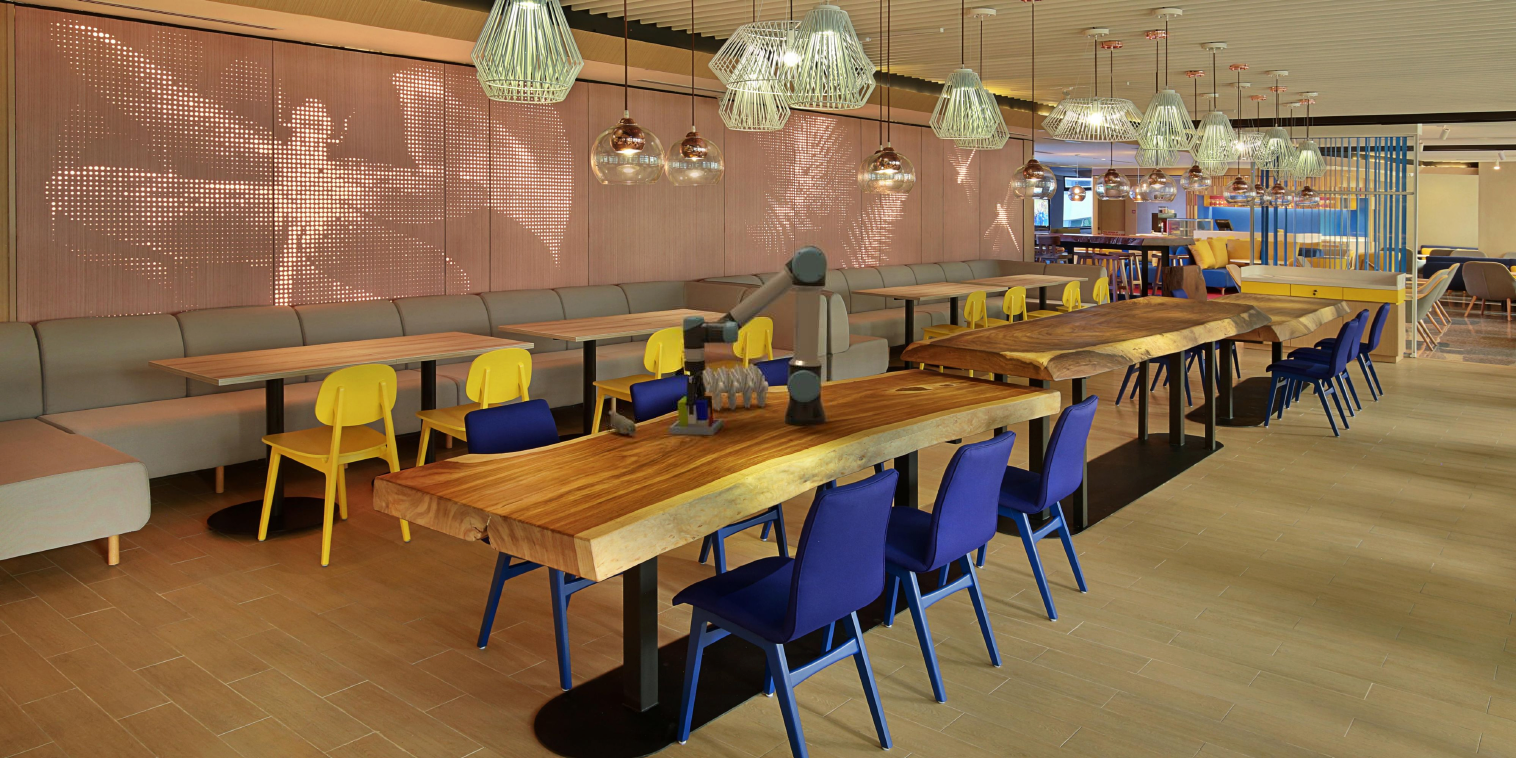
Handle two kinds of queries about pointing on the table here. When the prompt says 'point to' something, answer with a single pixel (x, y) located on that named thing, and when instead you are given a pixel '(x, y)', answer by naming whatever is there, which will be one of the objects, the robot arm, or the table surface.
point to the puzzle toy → (697, 412)
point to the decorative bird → (622, 424)
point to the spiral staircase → (735, 385)
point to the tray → (696, 428)
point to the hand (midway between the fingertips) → (696, 419)
